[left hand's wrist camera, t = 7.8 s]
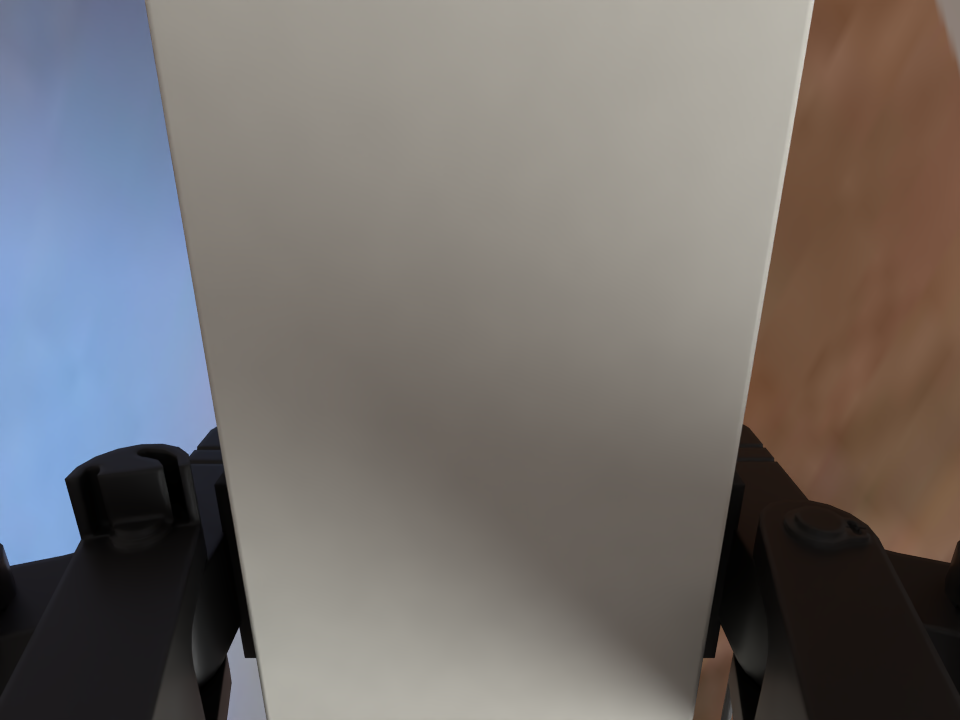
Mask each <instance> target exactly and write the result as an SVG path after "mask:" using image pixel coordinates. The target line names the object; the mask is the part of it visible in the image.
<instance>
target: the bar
mask: <svg viewBox="0 0 960 720" xmlns="http://www.w3.org/2000/svg"><path fill="white" fill-rule="evenodd" d="M145 5H146V11H147V16H148V22H149V28H150V34H151V40H152V46H153V52H154V58H155V64H156V70H157V75H158V81H159V87H160V93H161V99H162V105H163V111H164V117H165V123H166V129H167V134H168V140H169V146H170V152H171V158H172V164H173V170H174V176H175V182H176V188H177V193H178V199H179V205H180V211H181V217H182V223H183V229H184V235H185V241H186V247H187V252H188V258H189V264H190V270H191V276H192V282H193V288H194V294H195V300H196V306H197V311H198V317H199V323H200V329H201V335H202V341H203V347H204V353H205V359H206V364H207V370H208V376H209V382H210V388H211V394H212V400H213V406H214V412H215V418H216V423H217V429H218V435H219V441H220V447H221V453H222V459H223V465H224V471H225V477H226V482H227V488H228V494H229V500H230V506H231V512H232V518H233V524H234V530H235V536H236V541H237V547H238V553H239V559H240V565H241V571H242V577H243V583H244V589H245V595H246V600H247V606H248V612H249V618H250V624H251V630H252V636H253V642H254V648H255V654H256V659H257V665H258V671H259V677H260V683H261V689H262V695H263V701H264V707H265V712H266V718H267V720H693V714H694V708H695V702H696V697H697V691H698V685H699V679H700V673H701V667H702V661H703V655H704V649H705V643H706V637H707V632H708V626H709V620H710V614H711V608H712V602H713V596H714V590H715V584H716V578H717V572H718V566H719V561H720V555H721V549H722V543H723V537H724V531H725V525H726V519H727V513H728V507H729V501H730V496H731V490H732V484H733V478H734V472H735V466H736V460H737V454H738V448H739V442H740V436H741V431H742V425H743V419H744V413H745V407H746V401H747V395H748V389H749V383H750V377H751V371H752V366H753V360H754V354H755V348H756V342H757V336H758V330H759V324H760V318H761V312H762V306H763V301H764V295H765V289H766V283H767V277H768V271H769V265H770V259H771V253H772V247H773V241H774V236H775V230H776V224H777V218H778V212H779V206H780V200H781V194H782V188H783V182H784V176H785V171H786V165H787V159H788V153H789V147H790V141H791V135H792V129H793V123H794V117H795V111H796V106H797V100H798V94H799V88H800V82H801V76H802V70H803V64H804V58H805V52H806V46H807V41H808V35H809V29H810V23H811V17H812V11H813V5H814V0H145Z"/></svg>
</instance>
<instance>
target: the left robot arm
mask: <svg viewBox="0 0 960 720" xmlns="http://www.w3.org/2000/svg"><path fill="white" fill-rule="evenodd" d="M65 482H66V486H67V489H68V493H69V496H70V500H71V504H72V507H73V511H74V514H75V518H76V522H77V525H78V529H79V532H80V536H81V541H80V543H79V545H78V547H77V549H76V551H75V553H71V554H67V555H63V556H59V557H54V558H48V559H43V560H38V561H33V562H28V563H23V564H18V565H13V566H10V565H9V562H8V559H7V556H6V553H5V550H4V547H3V545H2V544H1V543H0V720H227V715H228V707H229V699H230V691H231V684H232V682H231V675H230V668H229V663H228V658H227V652H228V650H229V648H230V646H231V643H232V641H233V639H234V637H235V635H236V633H237V630H238V628H240V633H241V639H242V644H243V650H244V656H245V658H256V654H255V648H254V642H253V636H252V630H251V624H250V618H249V612H248V606H247V600H246V595H245V589H244V583H243V577H242V571H241V565H240V559H239V553H238V547H237V541H236V536H235V530H234V524H233V518H232V512H231V506H230V500H229V494H228V488H227V482H226V477H225V471H224V465H223V459H222V453H221V447H220V441H219V435H218V429H217V427H215V428H214V429H212V430H211V431H210V432H209V433H208V434H207V435H206V437H205V438H204V439H203V440H202V442H201V443H200V444H199V445H198V446H197V450H194V451H193V453H192V454H191V455H190V456H189V454H187V453H186V452H185V451H183V450H182V449H181V448H179V447H175V446H171V445H166V444H140V445H135V446H130V447H125V448H119V449H116V450H113V451H110V452H107V453H105V454H102V455H99V456H96V457H94V458H92V459H90V460H89V461H87V462H85V463H83V464H82V465H80V466H78V467H76V468H75V469H74V470H73V471H72V472H71V473H70V474H69V475H68V476H67V477H66V478H65ZM720 625H721V626H722V628H723V630H724V632H725V635H726V637H727V639H728V641H729V643H730V645H731V648H732V650H733V658H732V663H731V668H730V673H729V679H728V684H727V689H726V694H725V699H724V705H723V710H722V717H721V720H731V716H732V713H733V720H960V541H958V542H957V545H956V548H955V551H954V554H953V557H952V560H951V563H948V562H942V561H937V560H932V559H927V558H922V557H917V556H911V555H906V554H901V553H896V552H892V551H888V550H885V549H884V548H883V546H882V544H881V542H880V540H879V538H878V537H877V536H876V535H875V533H874V532H873V531H872V530H871V529H870V527H869V526H868V525H867V524H865V523H864V522H862V521H861V520H859V519H858V518H856V517H855V516H853V515H852V514H850V513H848V512H845V511H843V510H840V509H838V508H836V507H833V506H831V505H828V504H824V503H819V502H815V501H810V500H808V499H807V498H806V496H805V495H804V494H803V493H802V491H801V490H800V489H799V488H798V487H797V485H796V484H795V483H794V482H793V481H792V479H791V478H790V477H789V476H788V474H787V473H786V472H785V471H784V470H783V468H782V467H781V466H780V465H779V464H778V462H774V457H773V456H772V455H771V454H770V453H769V451H768V450H767V449H766V448H763V444H762V443H761V442H760V441H759V439H758V438H757V437H756V436H755V434H754V433H753V432H752V431H751V430H750V428H748V427H747V426H745V425H742V431H741V436H740V442H739V448H738V454H737V460H736V466H735V472H734V478H733V484H732V490H731V496H730V501H729V507H728V513H727V519H726V525H725V531H724V537H723V543H722V549H721V555H720V561H719V566H718V572H717V578H716V584H715V590H714V596H713V602H712V608H711V614H710V620H709V626H708V632H707V637H706V643H705V649H704V655H703V658H715V653H716V647H717V642H718V636H719V631H720Z"/></svg>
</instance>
